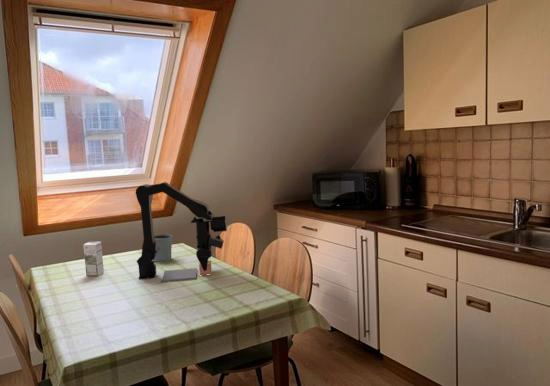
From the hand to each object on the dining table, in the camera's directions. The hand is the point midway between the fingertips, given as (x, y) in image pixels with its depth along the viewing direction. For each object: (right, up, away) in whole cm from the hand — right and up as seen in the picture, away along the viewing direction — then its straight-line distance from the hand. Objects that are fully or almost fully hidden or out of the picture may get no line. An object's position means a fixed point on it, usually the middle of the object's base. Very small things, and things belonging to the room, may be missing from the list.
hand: (205, 267), depth 194 cm
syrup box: (-50, -4, +6) cm, 51 cm away
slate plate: (-11, -3, -1) cm, 11 cm away
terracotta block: (0, -3, 0) cm, 3 cm away
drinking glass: (-25, -1, +26) cm, 36 cm away
